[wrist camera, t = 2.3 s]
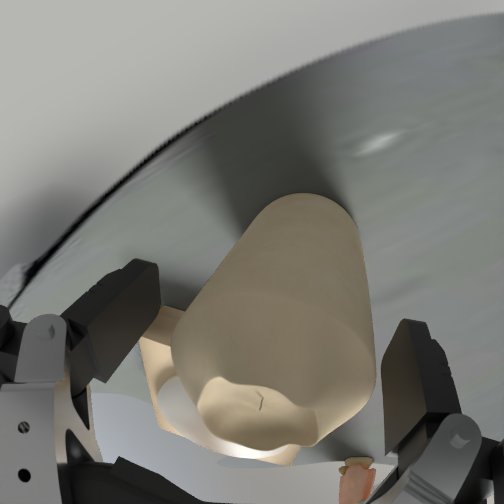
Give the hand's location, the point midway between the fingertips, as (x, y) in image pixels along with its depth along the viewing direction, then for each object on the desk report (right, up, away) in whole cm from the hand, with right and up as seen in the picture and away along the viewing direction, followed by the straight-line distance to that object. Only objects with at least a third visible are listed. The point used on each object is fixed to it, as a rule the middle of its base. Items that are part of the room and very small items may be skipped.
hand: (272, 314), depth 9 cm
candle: (+2, +2, +6) cm, 6 cm away
